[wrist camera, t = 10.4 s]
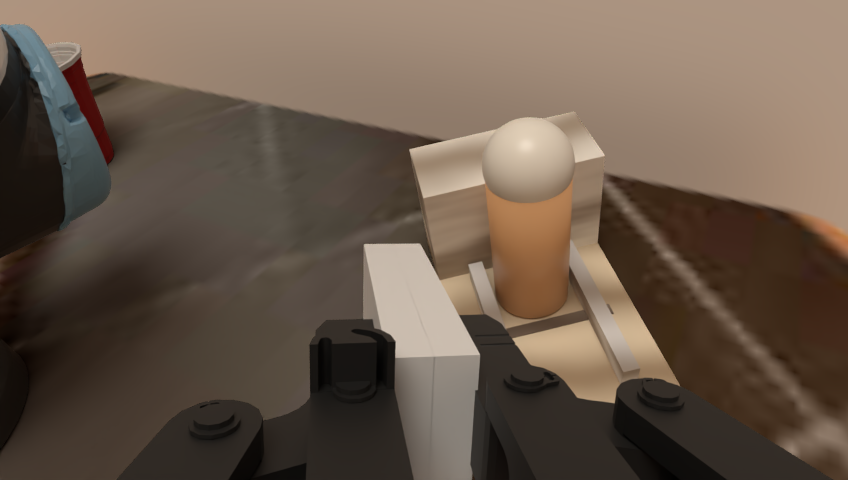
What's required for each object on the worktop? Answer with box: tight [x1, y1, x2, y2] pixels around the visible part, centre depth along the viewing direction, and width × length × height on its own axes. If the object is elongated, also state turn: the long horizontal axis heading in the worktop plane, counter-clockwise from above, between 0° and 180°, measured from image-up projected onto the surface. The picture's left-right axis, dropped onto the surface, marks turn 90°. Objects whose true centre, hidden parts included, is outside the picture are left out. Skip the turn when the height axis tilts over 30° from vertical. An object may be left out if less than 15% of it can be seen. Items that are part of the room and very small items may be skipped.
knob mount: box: [409, 112, 681, 403], centre depth 38 cm, size 20×12×10 cm, turn 10°
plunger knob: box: [482, 117, 575, 318], centre depth 36 cm, size 5×5×14 cm
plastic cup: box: [45, 42, 114, 164], centre depth 61 cm, size 11×11×12 cm
